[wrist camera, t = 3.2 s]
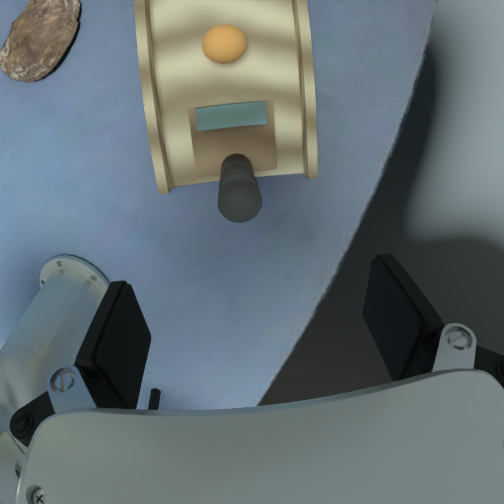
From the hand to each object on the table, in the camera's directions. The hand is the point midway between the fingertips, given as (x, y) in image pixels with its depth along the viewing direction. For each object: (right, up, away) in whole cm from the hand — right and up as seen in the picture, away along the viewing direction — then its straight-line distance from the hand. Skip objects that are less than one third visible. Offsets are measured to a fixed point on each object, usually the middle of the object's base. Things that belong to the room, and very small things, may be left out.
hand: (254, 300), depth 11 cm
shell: (-25, +27, +9) cm, 38 cm away
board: (-3, +23, +13) cm, 26 cm away
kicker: (-2, +13, +17) cm, 21 cm away
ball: (-3, +20, +10) cm, 23 cm away
